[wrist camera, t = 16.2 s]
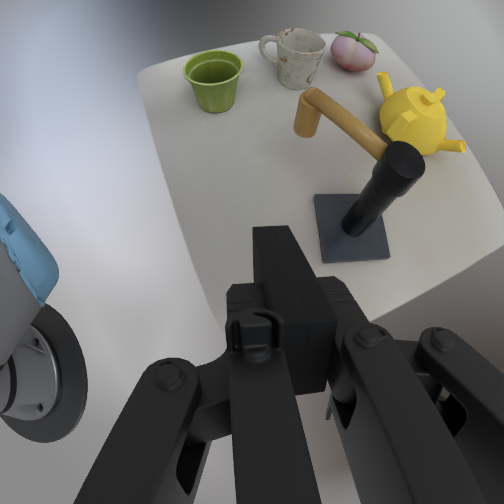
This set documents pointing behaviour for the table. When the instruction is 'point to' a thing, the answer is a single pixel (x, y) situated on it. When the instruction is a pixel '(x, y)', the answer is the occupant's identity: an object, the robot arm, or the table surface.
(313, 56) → the mug
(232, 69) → the plant pot
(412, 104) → the teapot
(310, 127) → the spout
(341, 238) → the square base plate
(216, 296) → the table surface
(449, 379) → the robot arm
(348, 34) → the decorative fruit
